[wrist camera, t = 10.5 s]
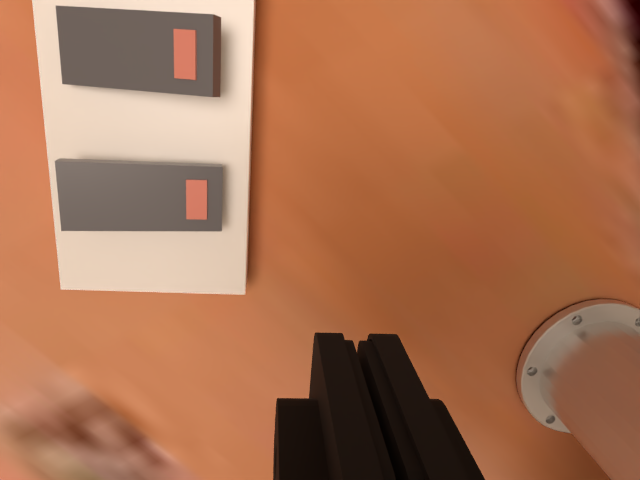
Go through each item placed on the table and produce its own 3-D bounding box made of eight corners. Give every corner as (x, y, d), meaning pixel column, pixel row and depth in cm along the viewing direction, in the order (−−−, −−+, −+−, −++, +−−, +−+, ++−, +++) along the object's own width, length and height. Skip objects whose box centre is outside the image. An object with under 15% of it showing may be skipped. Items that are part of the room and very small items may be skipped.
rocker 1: (221, 17, 25) (211, 13, 24) (220, 97, 26) (211, 97, 25) (68, 8, 26) (53, 4, 25) (74, 84, 28) (60, 83, 27)
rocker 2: (221, 164, 29) (222, 167, 28) (221, 226, 30) (221, 232, 29) (59, 158, 27) (53, 161, 26) (65, 225, 28) (60, 231, 27)
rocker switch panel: (262, -224, 26) (261, -274, 23) (247, 277, 36) (244, 300, 32) (32, -259, 25) (-9, -318, 21) (78, 272, 34) (54, 295, 31)
